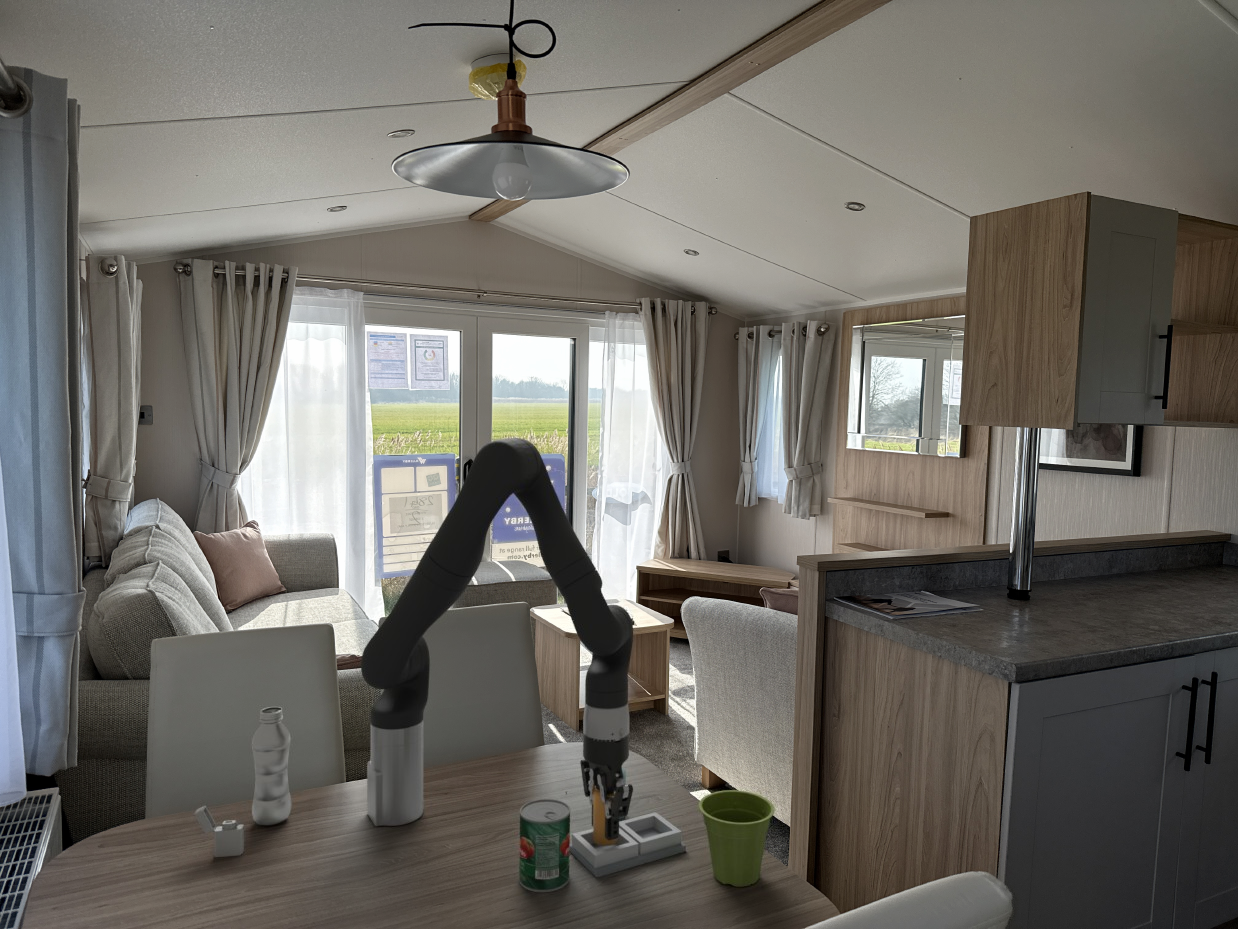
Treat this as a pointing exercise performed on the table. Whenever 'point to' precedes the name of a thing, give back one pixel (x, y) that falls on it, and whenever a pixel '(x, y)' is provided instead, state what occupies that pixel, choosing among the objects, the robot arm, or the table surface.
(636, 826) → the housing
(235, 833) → the lighter
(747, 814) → the plant pot
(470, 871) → the table surface
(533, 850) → the canned tomato
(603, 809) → the orange pin
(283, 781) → the plastic bottle
